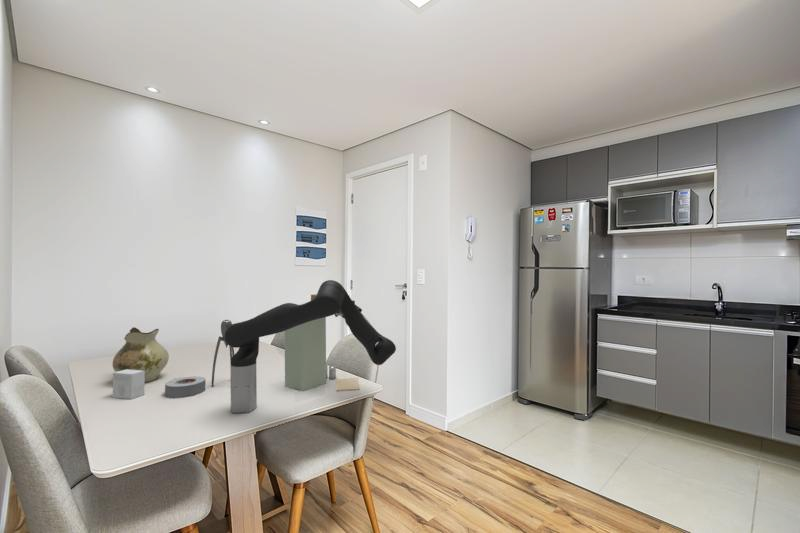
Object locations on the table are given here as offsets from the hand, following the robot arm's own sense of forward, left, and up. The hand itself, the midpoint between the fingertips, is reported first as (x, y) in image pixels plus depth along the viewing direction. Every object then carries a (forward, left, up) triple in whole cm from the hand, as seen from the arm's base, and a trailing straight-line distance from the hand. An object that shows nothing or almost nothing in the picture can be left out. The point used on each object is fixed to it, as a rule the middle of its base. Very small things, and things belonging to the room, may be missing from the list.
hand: (337, 299), depth 163 cm
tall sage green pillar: (+13, +15, -40) cm, 45 cm away
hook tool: (+4, +1, -3) cm, 5 cm away
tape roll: (+12, +66, -41) cm, 78 cm away
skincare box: (+11, +88, -41) cm, 97 cm away
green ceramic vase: (+35, +95, -40) cm, 109 cm away
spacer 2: (+20, +3, -40) cm, 45 cm away
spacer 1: (+22, +7, -40) cm, 46 cm away
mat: (+9, -4, -40) cm, 41 cm away
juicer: (+19, +50, -40) cm, 67 cm away
